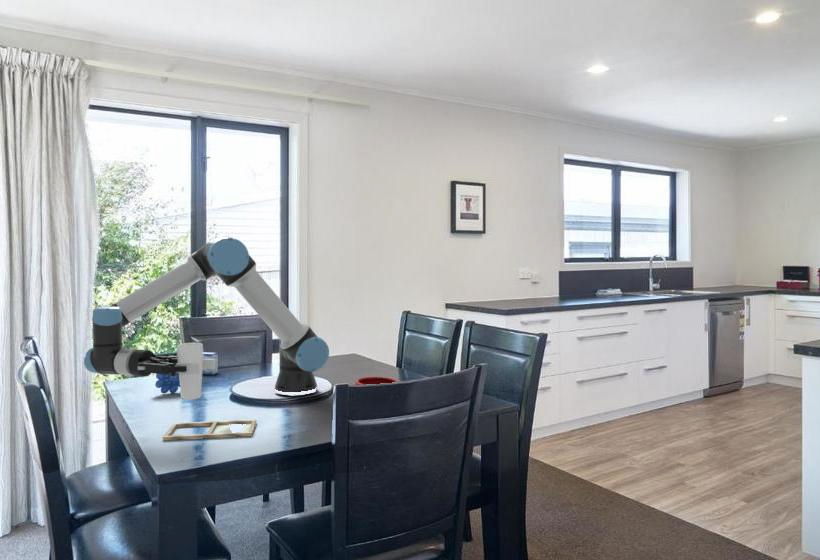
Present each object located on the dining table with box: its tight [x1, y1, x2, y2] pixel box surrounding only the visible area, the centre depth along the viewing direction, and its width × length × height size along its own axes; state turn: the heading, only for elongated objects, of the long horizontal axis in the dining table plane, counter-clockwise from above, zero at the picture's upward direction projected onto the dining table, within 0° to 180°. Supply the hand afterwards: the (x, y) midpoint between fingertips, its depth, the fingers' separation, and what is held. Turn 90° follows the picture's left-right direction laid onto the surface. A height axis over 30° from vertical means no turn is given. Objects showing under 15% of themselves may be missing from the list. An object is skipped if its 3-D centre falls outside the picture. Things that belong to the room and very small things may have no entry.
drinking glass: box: [176, 342, 204, 401], centre depth 158 cm, size 7×7×15 cm
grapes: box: [154, 372, 180, 394], centre depth 205 cm, size 12×7×12 cm, turn 126°
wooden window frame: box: [162, 418, 258, 441], centre depth 160 cm, size 23×13×1 cm, turn 100°
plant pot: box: [354, 376, 399, 386], centre depth 172 cm, size 13×13×12 cm
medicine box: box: [202, 351, 219, 375], centre depth 240 cm, size 8×4×9 cm, turn 80°
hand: (206, 366), depth 157 cm, fingers closed on drinking glass, 7 cm apart
